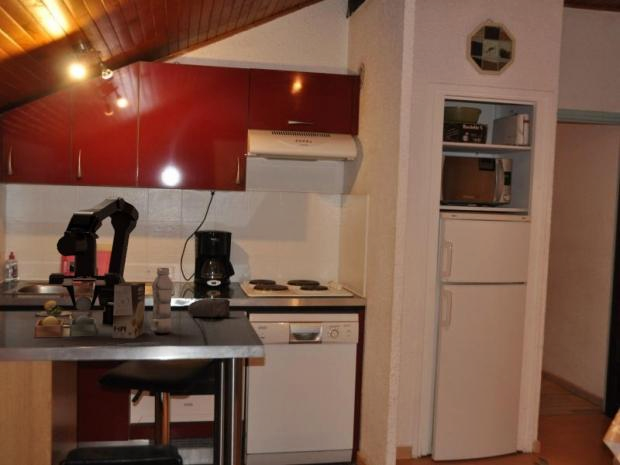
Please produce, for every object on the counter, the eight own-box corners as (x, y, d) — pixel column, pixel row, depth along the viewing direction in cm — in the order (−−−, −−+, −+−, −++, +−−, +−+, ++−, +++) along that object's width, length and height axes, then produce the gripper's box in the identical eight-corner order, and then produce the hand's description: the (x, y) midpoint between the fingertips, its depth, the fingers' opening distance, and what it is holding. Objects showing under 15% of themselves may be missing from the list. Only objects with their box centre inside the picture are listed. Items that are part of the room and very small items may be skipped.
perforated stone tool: (186, 318, 210) (187, 298, 210) (188, 315, 215) (189, 297, 215) (228, 319, 210) (229, 300, 210) (229, 317, 215) (230, 298, 215)
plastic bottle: (153, 335, 175) (155, 269, 175) (148, 331, 181) (150, 267, 181) (174, 334, 178) (176, 269, 178) (168, 330, 184) (170, 267, 184)
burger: (69, 320, 197) (69, 298, 197) (31, 320, 194) (32, 298, 194) (74, 315, 209) (75, 294, 209) (39, 315, 206) (39, 294, 206)
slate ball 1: (91, 310, 173) (92, 295, 173) (91, 312, 169) (92, 297, 169) (75, 310, 171) (76, 295, 171) (75, 312, 167) (75, 297, 167)
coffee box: (134, 342, 166) (135, 285, 165) (111, 341, 166) (113, 284, 166) (144, 335, 175) (145, 282, 175) (123, 335, 175) (124, 281, 175)
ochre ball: (58, 329, 175) (59, 314, 174) (57, 332, 170) (58, 317, 170) (42, 330, 173) (42, 315, 173) (41, 332, 169) (41, 317, 169)
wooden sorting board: (94, 326, 187) (95, 314, 187) (95, 338, 168) (96, 324, 168) (39, 328, 181) (40, 315, 181) (34, 340, 162) (34, 326, 162)
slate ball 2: (90, 328, 178) (91, 314, 178) (90, 331, 174) (91, 316, 174) (75, 329, 176) (75, 314, 176) (74, 331, 172) (75, 316, 172)
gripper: (117, 253, 181) (116, 303, 181) (51, 252, 174) (50, 304, 174) (119, 255, 170) (117, 309, 170) (49, 254, 163) (47, 310, 164)
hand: (83, 308), depth 170 cm, fingers closed on slate ball 1, 4 cm apart
